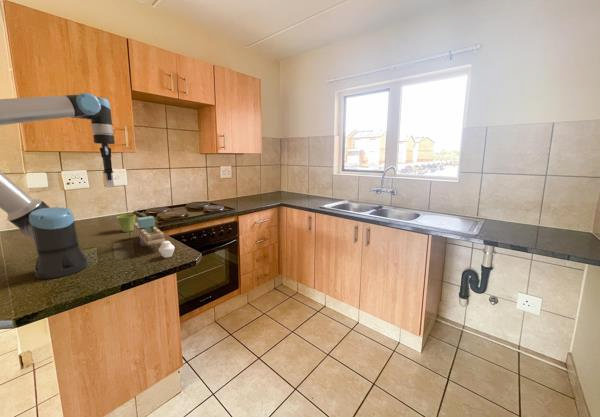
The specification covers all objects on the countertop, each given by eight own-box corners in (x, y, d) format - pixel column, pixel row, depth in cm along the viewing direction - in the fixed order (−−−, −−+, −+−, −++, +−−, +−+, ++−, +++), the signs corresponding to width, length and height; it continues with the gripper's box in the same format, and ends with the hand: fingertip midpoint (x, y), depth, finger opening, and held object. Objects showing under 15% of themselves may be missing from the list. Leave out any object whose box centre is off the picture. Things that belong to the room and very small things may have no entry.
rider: (156, 231, 128) (154, 217, 127) (141, 233, 124) (139, 219, 123) (153, 229, 132) (151, 215, 131) (139, 231, 128) (137, 218, 127)
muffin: (160, 254, 114) (158, 239, 113) (176, 252, 116) (174, 237, 115) (158, 260, 108) (156, 244, 107) (174, 257, 110) (173, 242, 109)
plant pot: (120, 229, 154) (118, 215, 152) (139, 227, 158) (137, 213, 156) (117, 233, 145) (114, 218, 144) (137, 231, 149) (134, 216, 148)
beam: (166, 250, 119) (164, 232, 118) (149, 254, 115) (146, 236, 113) (149, 234, 143) (147, 219, 141) (135, 237, 138) (132, 222, 137)
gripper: (115, 134, 116) (121, 187, 120) (112, 136, 125) (118, 185, 130) (93, 133, 111) (101, 188, 115) (92, 135, 121) (99, 186, 125)
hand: (110, 187), depth 122 cm, fingers closed
